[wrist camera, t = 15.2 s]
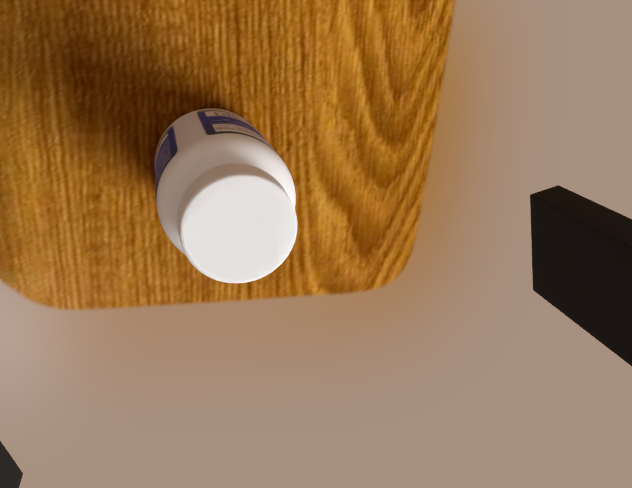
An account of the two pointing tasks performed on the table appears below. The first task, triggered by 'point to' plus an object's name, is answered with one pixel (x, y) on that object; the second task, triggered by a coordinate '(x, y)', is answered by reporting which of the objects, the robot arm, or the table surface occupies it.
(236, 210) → the pill bottle
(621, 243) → the robot arm
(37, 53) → the table surface
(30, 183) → the table surface
